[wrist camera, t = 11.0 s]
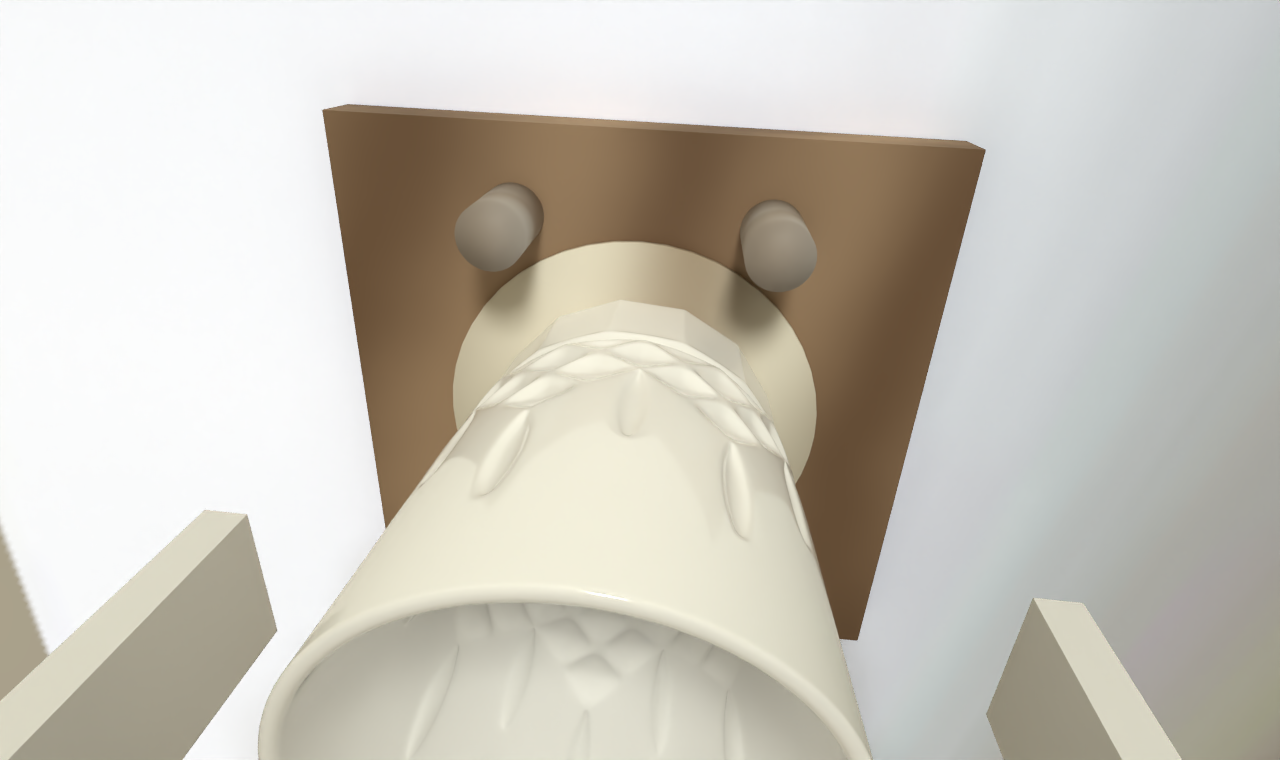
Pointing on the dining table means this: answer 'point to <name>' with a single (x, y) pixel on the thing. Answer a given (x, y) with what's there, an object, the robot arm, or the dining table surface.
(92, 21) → the dining table surface
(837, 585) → the pin board
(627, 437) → the white cup
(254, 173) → the dining table surface
